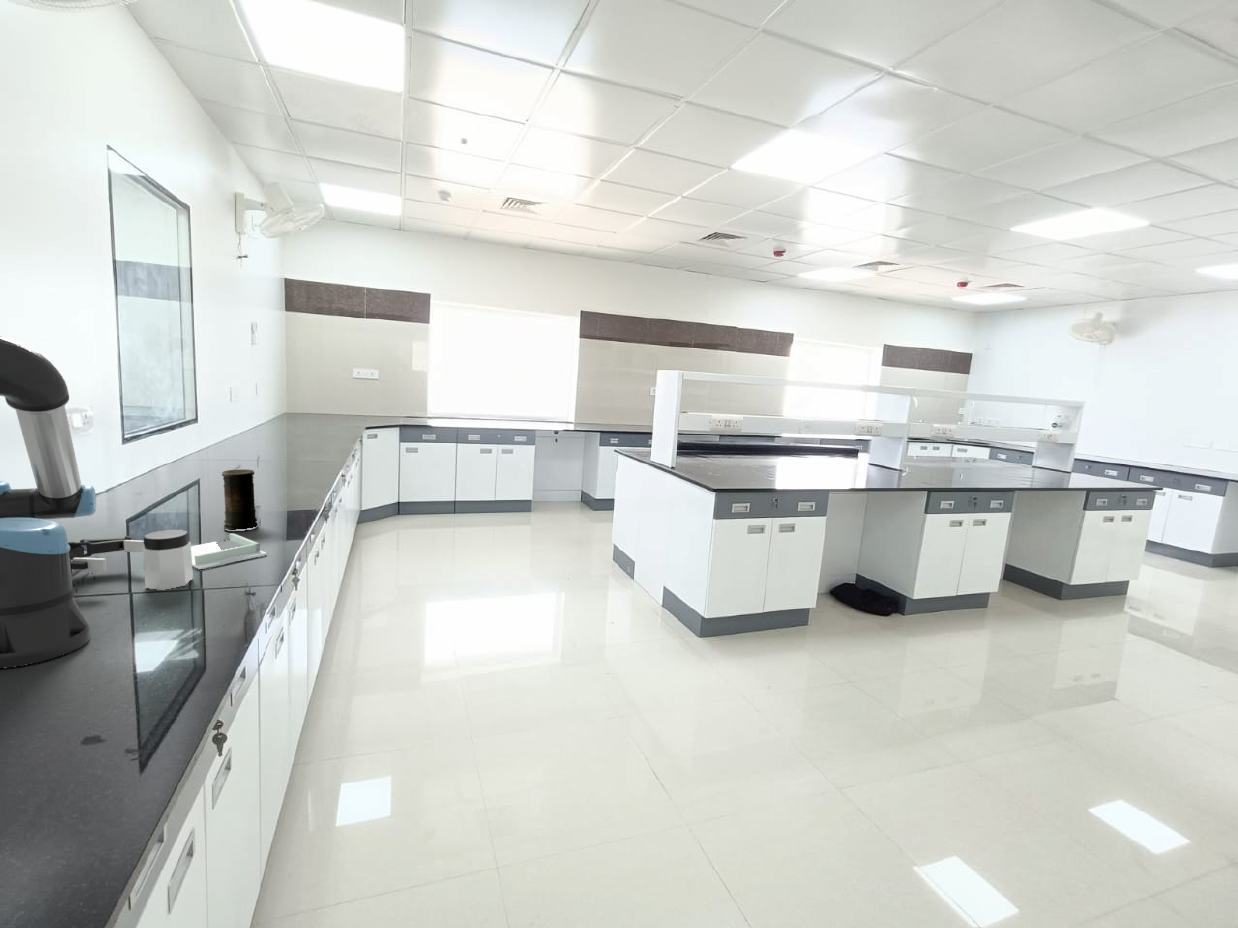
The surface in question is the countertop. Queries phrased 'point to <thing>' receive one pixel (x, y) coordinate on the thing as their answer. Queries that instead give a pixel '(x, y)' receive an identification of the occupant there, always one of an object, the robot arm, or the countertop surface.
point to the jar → (167, 559)
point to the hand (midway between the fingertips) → (130, 555)
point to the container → (239, 499)
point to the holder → (223, 551)
